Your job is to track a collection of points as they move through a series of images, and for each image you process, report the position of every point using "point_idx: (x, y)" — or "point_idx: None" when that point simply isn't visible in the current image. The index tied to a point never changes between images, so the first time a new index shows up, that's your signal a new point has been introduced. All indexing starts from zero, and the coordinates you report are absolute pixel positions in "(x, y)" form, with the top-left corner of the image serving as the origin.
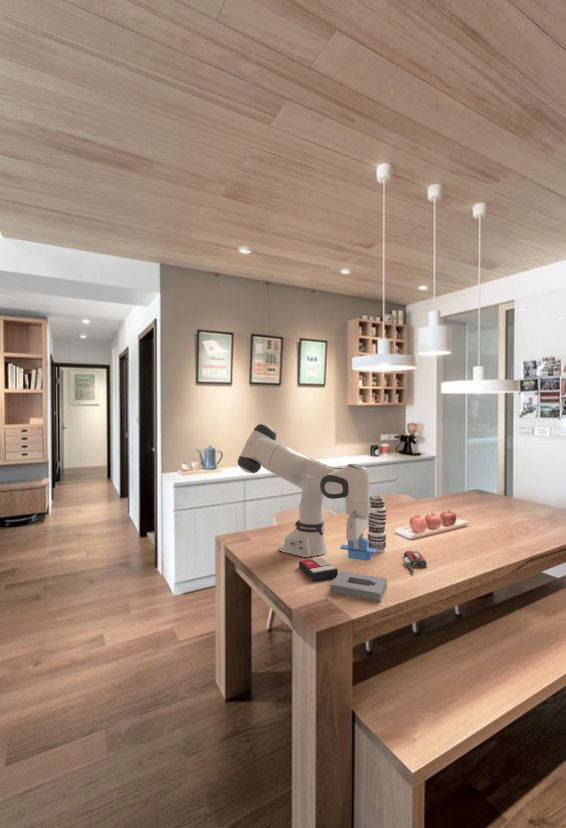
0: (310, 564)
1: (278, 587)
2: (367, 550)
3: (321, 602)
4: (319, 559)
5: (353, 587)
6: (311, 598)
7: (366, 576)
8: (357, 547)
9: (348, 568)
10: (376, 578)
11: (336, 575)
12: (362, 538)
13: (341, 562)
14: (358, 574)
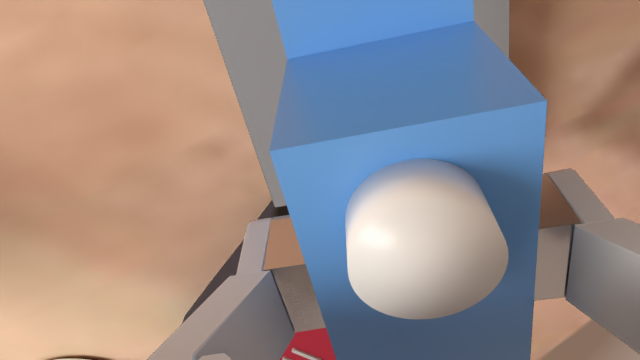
0: (316, 350)
1: (537, 337)
2: (439, 23)
3: (633, 126)
4: None
5: (489, 17)
6: (600, 188)
7: (239, 18)
8: (577, 186)
9: (122, 201)
10: None
11: (286, 207)
12: (503, 253)
13: (85, 261)
14: (247, 88)
